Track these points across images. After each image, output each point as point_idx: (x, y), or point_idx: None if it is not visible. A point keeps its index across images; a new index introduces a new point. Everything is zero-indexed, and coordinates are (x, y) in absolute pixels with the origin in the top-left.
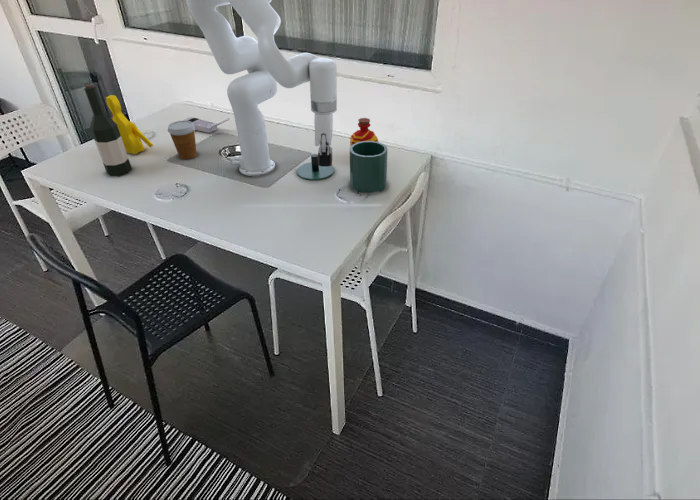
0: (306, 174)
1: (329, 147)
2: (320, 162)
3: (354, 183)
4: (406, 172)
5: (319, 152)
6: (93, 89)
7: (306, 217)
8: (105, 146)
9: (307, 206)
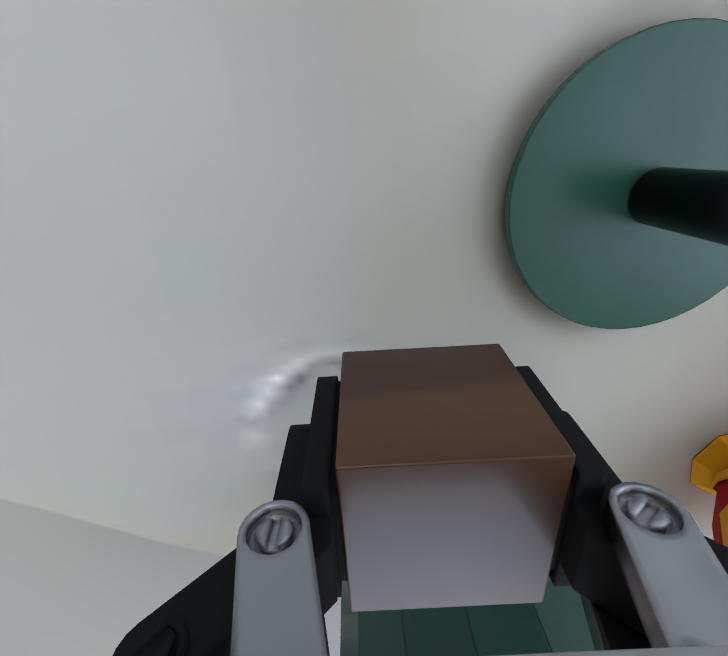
0: (593, 127)
1: (554, 574)
2: (316, 408)
3: None
4: None
5: (370, 484)
6: None
7: (22, 209)
8: None
9: (159, 196)
